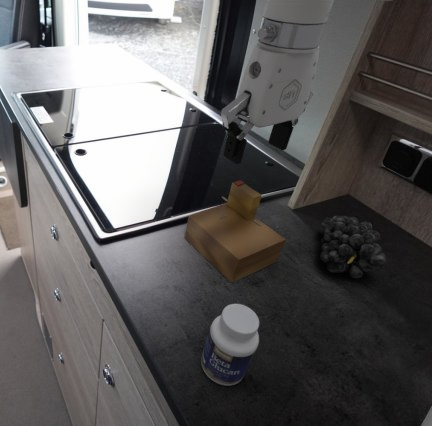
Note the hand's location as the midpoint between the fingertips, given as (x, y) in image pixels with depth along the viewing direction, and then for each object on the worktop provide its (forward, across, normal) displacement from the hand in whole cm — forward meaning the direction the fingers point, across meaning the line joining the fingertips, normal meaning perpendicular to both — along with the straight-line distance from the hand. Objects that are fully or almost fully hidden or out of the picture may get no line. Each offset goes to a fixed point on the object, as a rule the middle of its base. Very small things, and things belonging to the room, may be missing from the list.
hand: (254, 152), depth 58 cm
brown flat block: (+16, -2, -3) cm, 16 cm away
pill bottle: (+16, -20, -20) cm, 32 cm away
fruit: (+16, +12, -14) cm, 24 cm away
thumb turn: (+11, 0, 0) cm, 11 cm away
